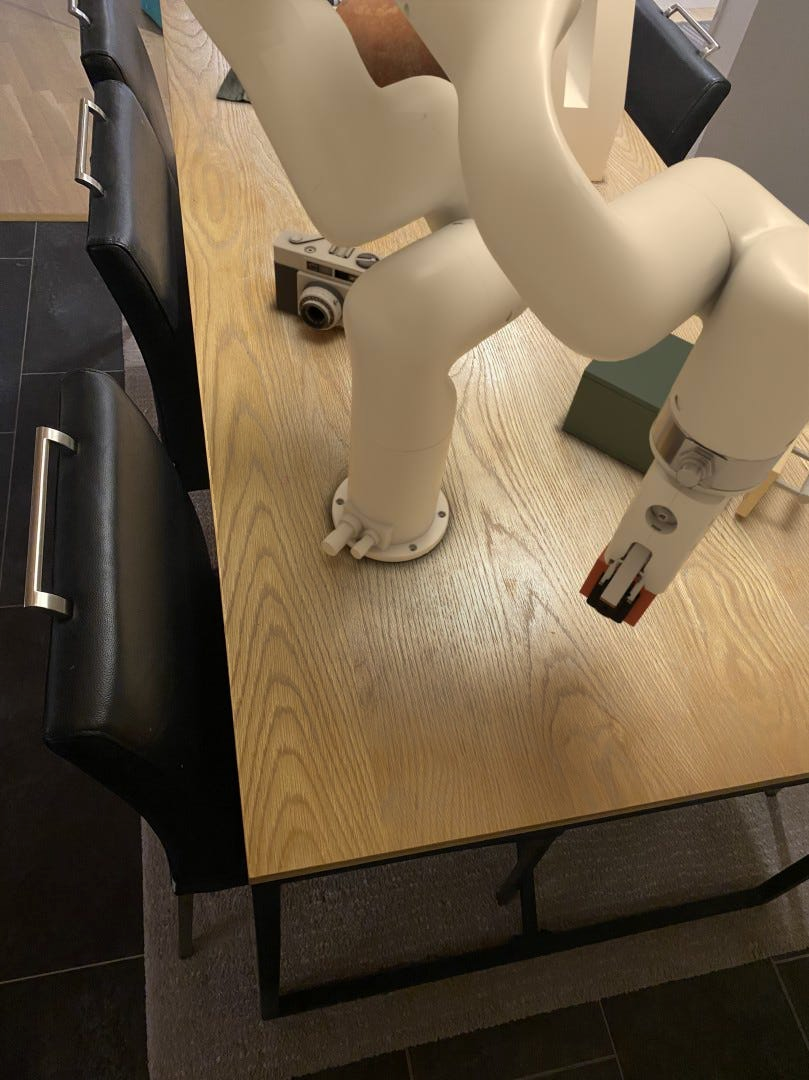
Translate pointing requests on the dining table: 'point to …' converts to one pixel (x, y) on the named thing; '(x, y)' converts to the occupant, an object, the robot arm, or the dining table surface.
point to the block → (645, 596)
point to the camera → (316, 276)
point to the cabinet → (626, 401)
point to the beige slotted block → (593, 80)
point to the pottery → (387, 42)
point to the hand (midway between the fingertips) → (621, 585)
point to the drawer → (777, 482)
